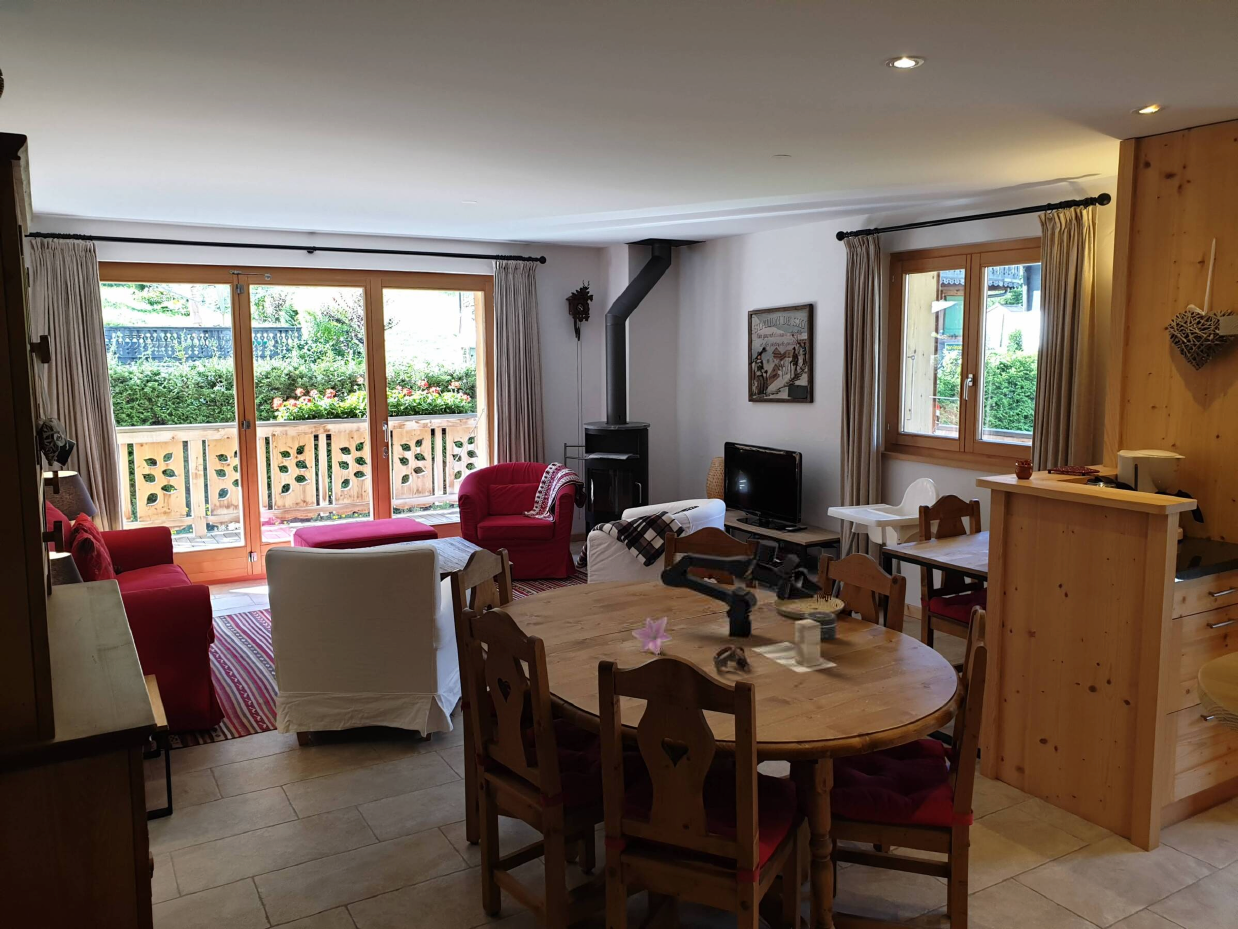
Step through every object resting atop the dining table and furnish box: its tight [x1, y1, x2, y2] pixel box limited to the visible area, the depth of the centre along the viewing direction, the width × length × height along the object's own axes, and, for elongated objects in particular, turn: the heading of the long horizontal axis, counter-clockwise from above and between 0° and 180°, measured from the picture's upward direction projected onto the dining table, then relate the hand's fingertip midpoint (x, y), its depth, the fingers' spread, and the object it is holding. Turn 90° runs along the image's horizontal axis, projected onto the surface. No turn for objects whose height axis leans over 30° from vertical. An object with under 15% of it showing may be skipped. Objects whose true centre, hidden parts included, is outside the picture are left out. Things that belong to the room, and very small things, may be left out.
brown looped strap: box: [712, 644, 751, 673], centre depth 256 cm, size 12×10×8 cm
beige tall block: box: [794, 619, 821, 668], centre depth 257 cm, size 5×5×12 cm
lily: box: [631, 616, 672, 654], centre depth 276 cm, size 12×12×10 cm
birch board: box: [750, 641, 837, 674], centre depth 264 cm, size 24×13×1 cm, turn 26°
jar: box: [803, 611, 837, 642], centre depth 282 cm, size 10×10×8 cm
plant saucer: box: [772, 594, 845, 620], centre depth 312 cm, size 24×24×3 cm
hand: (818, 592), depth 274 cm, fingers open, 9 cm apart
